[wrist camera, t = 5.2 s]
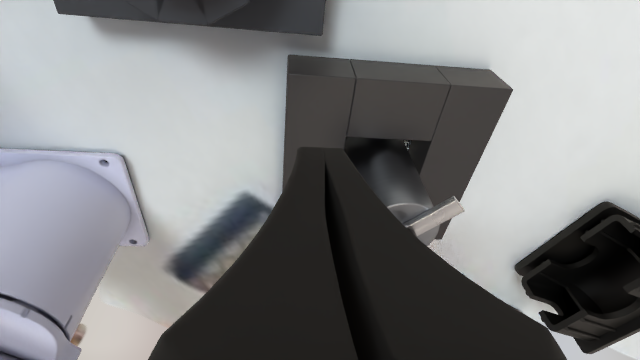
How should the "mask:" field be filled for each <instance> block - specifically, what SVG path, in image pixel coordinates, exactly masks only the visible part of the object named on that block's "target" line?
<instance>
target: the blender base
mask: <svg viewBox="0 0 640 360" xmlns="http://www.w3.org/2000/svg"><path fill="white" fill-rule="evenodd" d="M512 91H513V89H512V88H511V87H510V86H509V85H507V84H506V83H505V82H504V81H503V80H502V79H500V78H499V77H498V76H497V75H496V74H495V73H494V72H492V71H491V70H484V69H471V68H458V67H445V66H431V65H418V64H405V63H392V62H379V61H366V60H353V59H350V60H349V59H338V58H325V57H312V56H299V55H288V62H287V88H286V114H285V139H284V165H283V190H284V188H285V186H286V184H287V182H288V179H289V177H290V175H291V172H292V169H293V167H294V164H295V160H296V155H297V149H299V148H300V147H322V148H342V149H343V150H344V148H345V142H346V136H347V137H360V138H379V139H399V140H412V141H411V144H410V147H409V150H408V152H409V154H410V157H411V159H412V161H413V163H414V165H415V167H416V170H417V172H418V174H419V176H420V178H421V181H422V183H423V185H424V187H425V189H426V191H427V194H428V196H429V198H430V200H431V202H432V205H433V207H434V206H436V205H438V204H440V203H442V202H443V201H445V200H447V199H449V198H451V197H453V196H455V198H456V199H457V200H458V202H460V200H461V198H462V196H463V193H464V191H465V189H466V187H467V185H468V183H469V181H470V179H471V177H472V175H473V173H474V171H475V168H476V166H477V164H478V162H479V160H480V158H481V156H482V154H483V152H484V150H485V148H486V145H487V143H488V141H489V139H490V137H491V135H492V133H493V131H494V129H495V127H496V125H497V122H498V120H499V118H500V116H501V114H502V112H503V110H504V108H505V106H506V104H507V102H508V100H509V97H510V95H511V93H512ZM282 192H283V191H282ZM451 219H452V218H451ZM451 219H449V220H447V221H445V222H443V223H441V224H440V227H439V231H438V234H437V235H436V237H435V239H442V237H443V235H444V233H445V231H446V229H447V227H448V225H449V223H450V221H451Z"/></svg>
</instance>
